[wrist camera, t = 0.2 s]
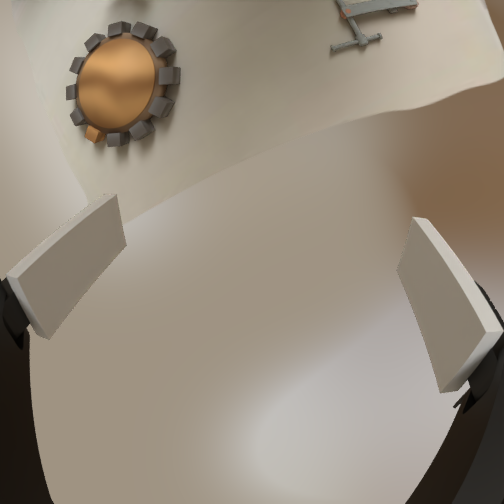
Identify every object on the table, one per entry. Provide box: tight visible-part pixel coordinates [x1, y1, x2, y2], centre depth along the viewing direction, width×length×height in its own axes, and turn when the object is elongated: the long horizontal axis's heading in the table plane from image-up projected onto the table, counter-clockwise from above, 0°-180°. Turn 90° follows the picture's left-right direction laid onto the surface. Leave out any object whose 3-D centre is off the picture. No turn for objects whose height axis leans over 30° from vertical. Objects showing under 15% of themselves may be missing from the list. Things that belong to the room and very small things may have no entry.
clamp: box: [331, 0, 419, 52], centre depth 23 cm, size 15×2×10 cm
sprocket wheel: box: [66, 21, 180, 147], centre depth 33 cm, size 20×20×2 cm
